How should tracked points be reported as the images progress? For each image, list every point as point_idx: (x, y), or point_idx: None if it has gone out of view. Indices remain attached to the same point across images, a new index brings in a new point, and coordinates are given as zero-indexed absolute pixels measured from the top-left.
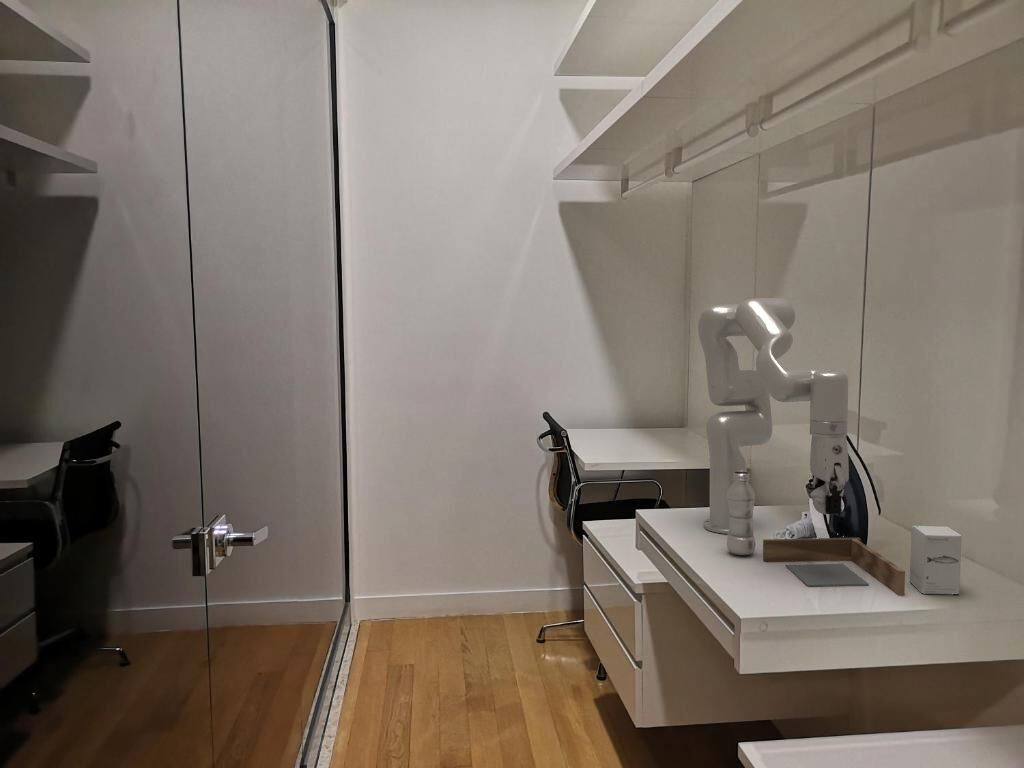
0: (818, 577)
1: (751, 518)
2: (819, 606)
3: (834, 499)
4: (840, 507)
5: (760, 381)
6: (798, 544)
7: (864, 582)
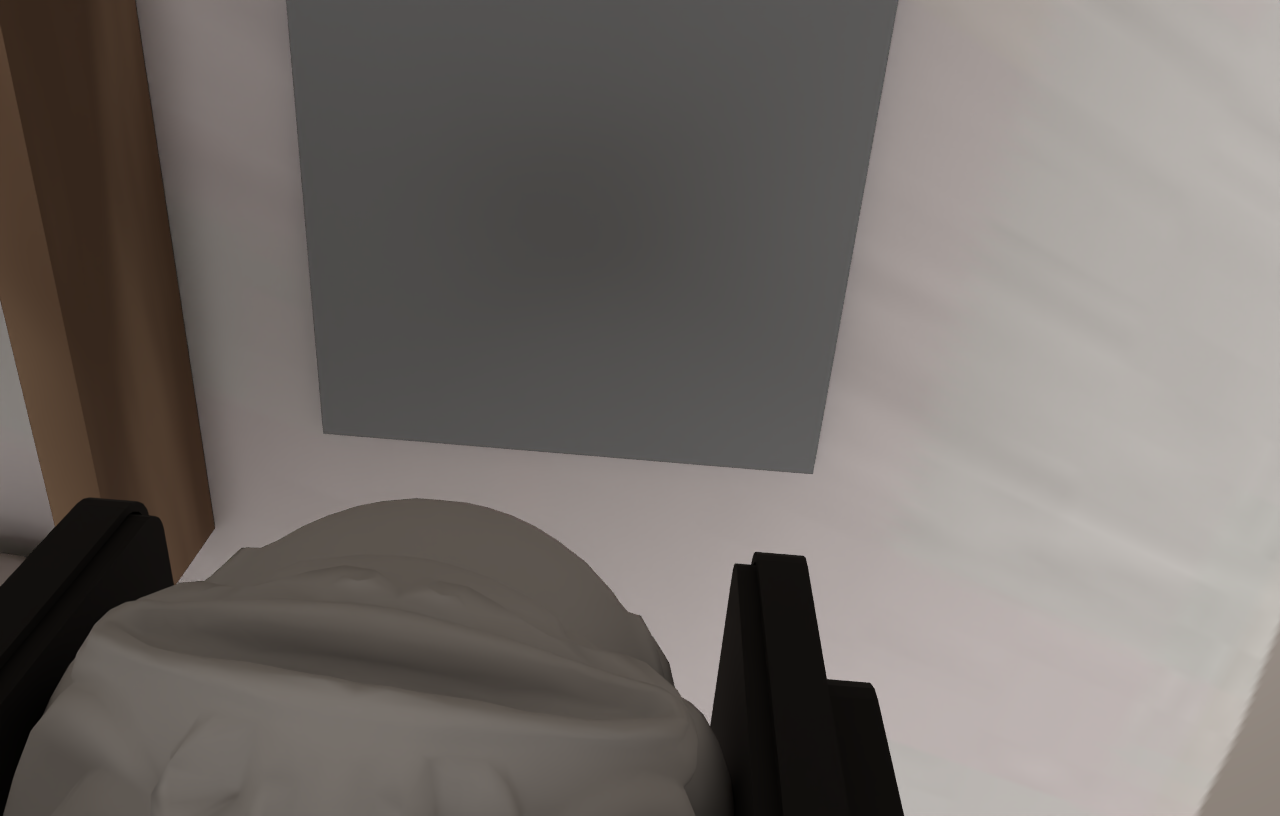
0: (659, 319)
1: None
2: (1186, 549)
3: None
4: (810, 639)
5: None
6: (94, 337)
7: None
